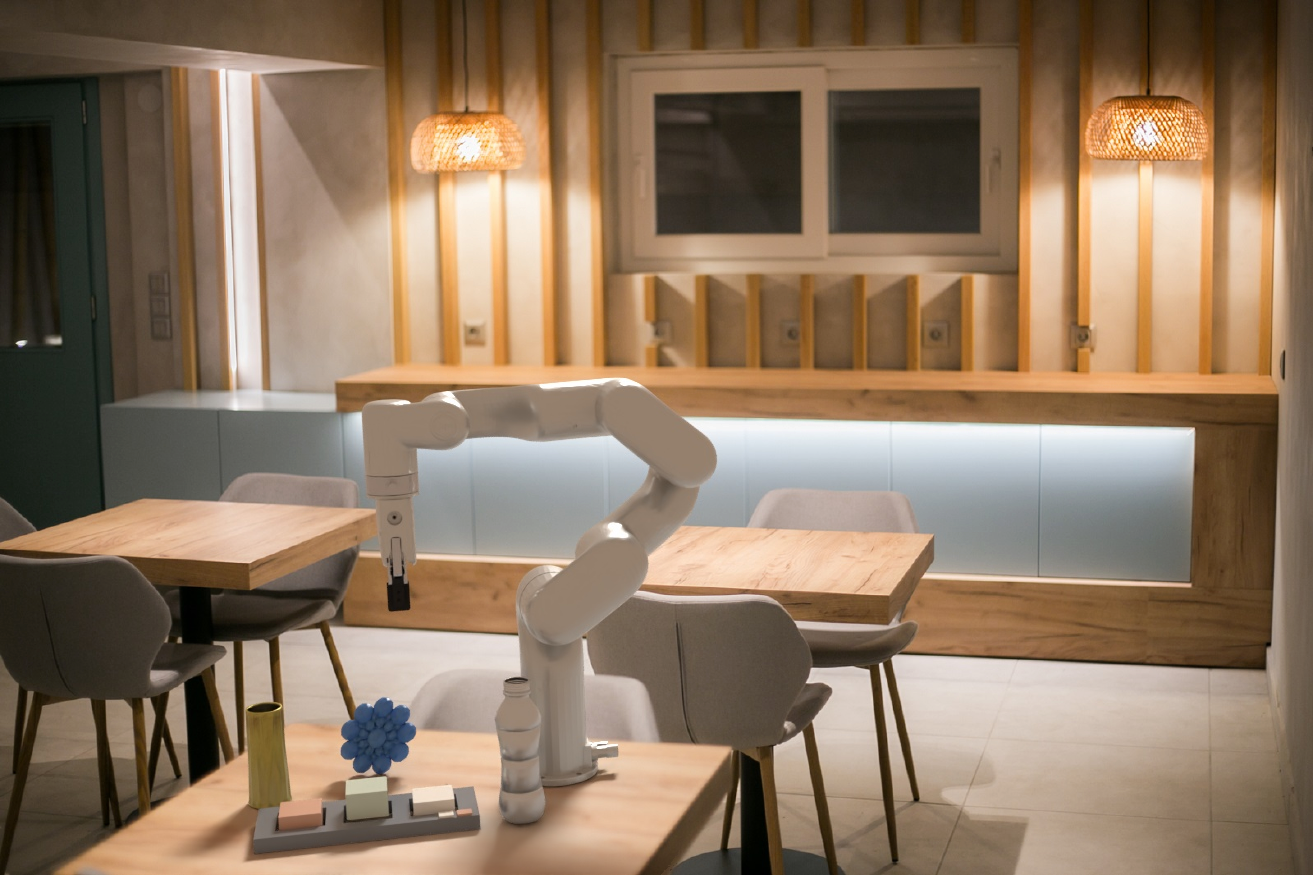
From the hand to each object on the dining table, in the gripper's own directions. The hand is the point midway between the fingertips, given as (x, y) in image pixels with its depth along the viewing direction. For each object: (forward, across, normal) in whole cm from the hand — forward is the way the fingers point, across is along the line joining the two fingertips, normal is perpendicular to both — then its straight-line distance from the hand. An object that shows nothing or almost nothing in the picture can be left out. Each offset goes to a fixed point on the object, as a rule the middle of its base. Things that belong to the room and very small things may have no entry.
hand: (399, 609), depth 210 cm
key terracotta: (+27, -13, +15) cm, 34 cm away
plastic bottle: (+27, -17, -15) cm, 35 cm away
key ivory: (+27, -13, -3) cm, 30 cm away
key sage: (+25, -13, +6) cm, 29 cm away
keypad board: (+27, -13, +6) cm, 31 cm away
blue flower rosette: (+27, +8, +4) cm, 29 cm away
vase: (+27, 0, +20) cm, 34 cm away
